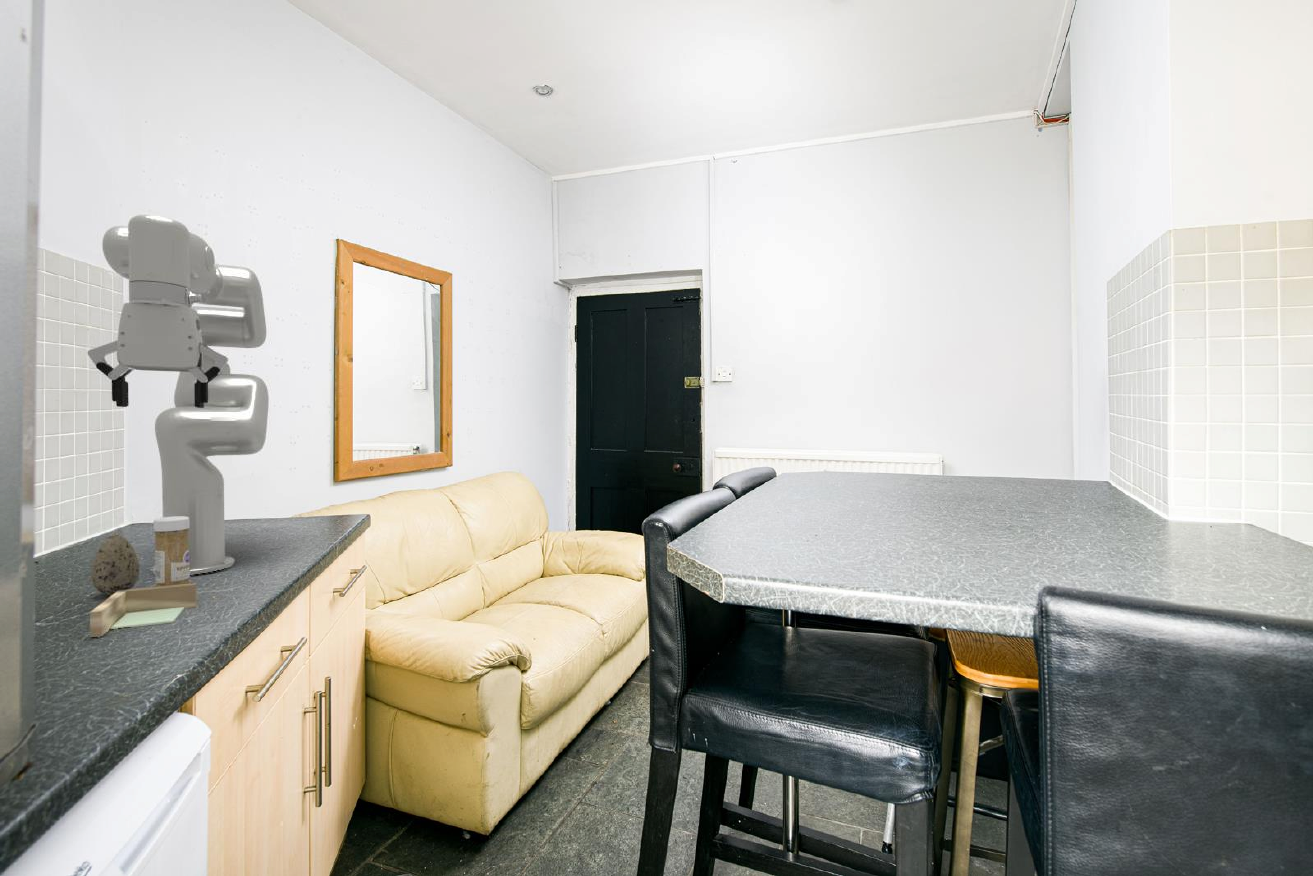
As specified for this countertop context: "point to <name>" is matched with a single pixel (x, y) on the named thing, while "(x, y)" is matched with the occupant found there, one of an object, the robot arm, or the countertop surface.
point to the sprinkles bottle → (171, 551)
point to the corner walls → (140, 604)
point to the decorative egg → (115, 566)
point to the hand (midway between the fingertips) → (161, 407)
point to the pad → (148, 618)
